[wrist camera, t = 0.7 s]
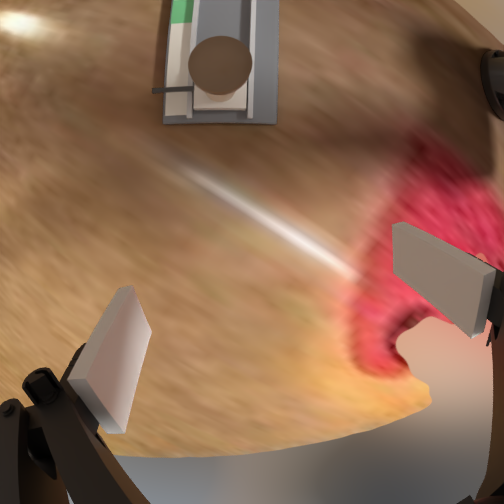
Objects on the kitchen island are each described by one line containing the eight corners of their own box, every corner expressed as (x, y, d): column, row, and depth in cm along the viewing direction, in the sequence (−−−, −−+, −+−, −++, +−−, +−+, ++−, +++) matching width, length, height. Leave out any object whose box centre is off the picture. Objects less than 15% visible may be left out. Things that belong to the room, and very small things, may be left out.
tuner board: (277, -33, 27) (280, -42, 25) (274, 124, 36) (278, 123, 33) (179, -35, 26) (177, -44, 23) (164, 124, 35) (160, 122, 32)
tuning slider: (246, 72, 32) (258, 36, 20) (244, 111, 33) (256, 92, 22) (156, 74, 31) (127, 42, 19) (154, 113, 32) (122, 97, 21)
